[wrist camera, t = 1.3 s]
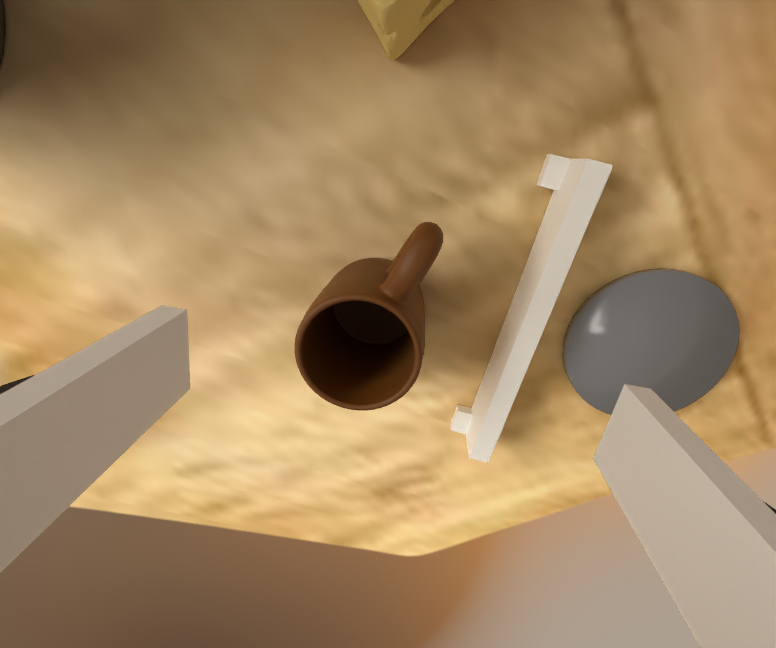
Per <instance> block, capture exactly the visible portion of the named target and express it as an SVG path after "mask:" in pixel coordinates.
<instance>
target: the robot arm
mask: <svg viewBox="0 0 776 648" xmlns="http://www.w3.org/2000/svg"><path fill="white" fill-rule="evenodd" d="M3 43H4V14H3V6H2V0H0V60H1V55H2V50H3ZM189 389H190V371H189V346H188V321H187V310H186V309H180V308H174V307H168V306H160V307H158V308H157V309H155V310H153V311H151V312H149V313H148V314H146V315H144V316H142V317H140V318H138V319H137V320H135V321H133V322H131V323H129V324H127V325H126V326H124V327H122V328H120V329H118V330H117V331H115V332H113V333H111V334H109V335H107V336H106V337H104V338H102V339H100V340H98V341H97V342H95V343H93V344H91V345H89V346H87V347H86V348H84V349H82V350H80V351H78V352H77V353H75V354H73V355H71V356H69V357H67V358H66V359H64V360H62V361H60V362H58V363H57V364H55V365H53V366H51V367H49V368H47V369H46V370H44V371H42V372H40V373H38V374H37V375H32V376H29V377H26V378H23V379H20V380H17V381H14V382H11V383H8V384H5V385H2V386H1V387H0V573H1V571H3V570H4V569H5V568H6V567H7V566H8V565H9V564H10V563H11V562H12V561H13V560H14V559H15V558H16V557H17V556H18V555H19V554H20V553H21V552H22V551H23V550H24V549H25V548H26V547H27V546H28V545H29V544H30V543H31V542H33V541H34V539H36V538H37V537H38V536H39V535H40V534H41V533H42V532H43V531H44V530H45V529H46V528H47V527H48V526H49V525H50V524H51V523H52V522H53V521H54V520H55V519H56V518H57V517H58V516H59V515H60V514H61V513H62V512H63V511H64V510H66V509H67V508H68V507H69V506H70V505H71V504H72V503H73V502H74V501H75V500H76V499H77V498H78V497H79V496H80V495H81V494H82V493H83V492H84V491H85V490H86V489H87V488H88V487H89V486H90V485H91V484H92V483H93V482H94V481H95V480H96V479H97V478H98V477H100V476H101V475H102V474H103V473H104V472H105V471H106V470H107V469H108V468H109V467H110V466H111V465H112V464H113V463H114V462H115V461H116V460H117V459H118V458H119V457H120V456H121V455H122V454H123V453H124V452H125V451H126V450H127V449H128V448H129V447H130V446H131V445H133V444H134V443H135V442H136V441H137V440H138V439H139V438H140V437H141V436H142V435H143V434H144V433H145V432H146V431H147V430H148V429H149V428H150V427H151V426H152V425H153V424H154V423H155V422H156V421H157V420H158V419H159V418H160V417H161V416H162V415H163V414H164V413H165V412H167V411H168V410H169V409H170V408H171V407H172V406H173V405H174V404H175V403H176V402H177V401H178V400H179V399H180V398H181V397H182V396H183V395H184V394H185V393H186V392H187V391H188V390H189ZM593 460H594V461H595V463H596V465H597V467H598V468H599V470H600V472H601V474H602V475H603V477H604V479H605V481H606V482H607V484H608V486H609V488H610V490H611V491H612V493H613V495H614V497H615V498H616V500H617V502H618V504H619V505H620V507H621V509H622V511H623V512H624V514H625V516H626V518H627V519H628V521H629V523H630V525H631V526H632V528H633V530H634V532H635V534H636V535H637V537H638V539H639V541H640V542H641V544H642V546H643V548H644V549H645V551H646V553H647V555H648V556H649V558H650V560H651V561H652V564H653V565H654V567H655V569H656V570H657V572H658V574H659V576H660V578H661V579H662V581H663V583H664V584H665V586H666V588H667V590H668V592H669V593H670V595H671V597H672V599H673V601H674V602H675V604H676V606H677V608H678V609H679V611H680V613H681V615H682V616H683V618H684V620H685V622H686V623H687V625H688V627H689V629H690V630H691V632H692V634H693V636H694V637H695V639H696V641H697V643H698V645H699V646H700V648H776V510H775V509H774V508H772V507H771V506H769V505H768V504H767V503H765V502H764V501H762V500H761V499H760V498H759V497H758V496H757V495H756V494H755V493H754V492H753V491H752V490H751V489H750V488H749V487H748V486H747V485H746V484H745V483H744V482H743V481H742V480H741V479H740V478H739V477H738V476H737V475H736V474H735V473H734V472H733V471H732V470H731V469H730V468H729V467H728V466H727V465H726V464H725V463H724V462H723V461H722V460H721V459H720V458H719V457H718V456H717V455H716V454H715V453H714V452H713V451H712V450H711V449H710V448H709V447H708V446H707V445H706V444H705V443H704V442H703V441H702V440H701V439H700V438H699V437H698V436H697V435H696V434H695V433H694V432H693V431H692V430H691V429H690V428H689V427H688V426H687V424H686V423H685V422H684V421H683V420H682V419H681V418H680V417H679V416H678V415H677V414H676V413H675V412H674V411H673V410H672V409H671V408H670V407H669V406H668V405H667V404H666V403H665V402H664V401H663V400H662V399H661V398H660V397H659V396H658V395H657V394H656V393H655V392H654V391H653V390H652V389H651V388H645V387H639V386H633V385H627V384H624V386H623V389H622V391H621V393H620V396H619V398H618V400H617V403H616V405H615V408H614V410H613V412H612V415H611V417H610V419H609V422H608V424H607V427H606V429H605V431H604V434H603V436H602V438H601V441H600V443H599V446H598V448H597V450H596V453H595V455H594V457H593Z"/></svg>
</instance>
